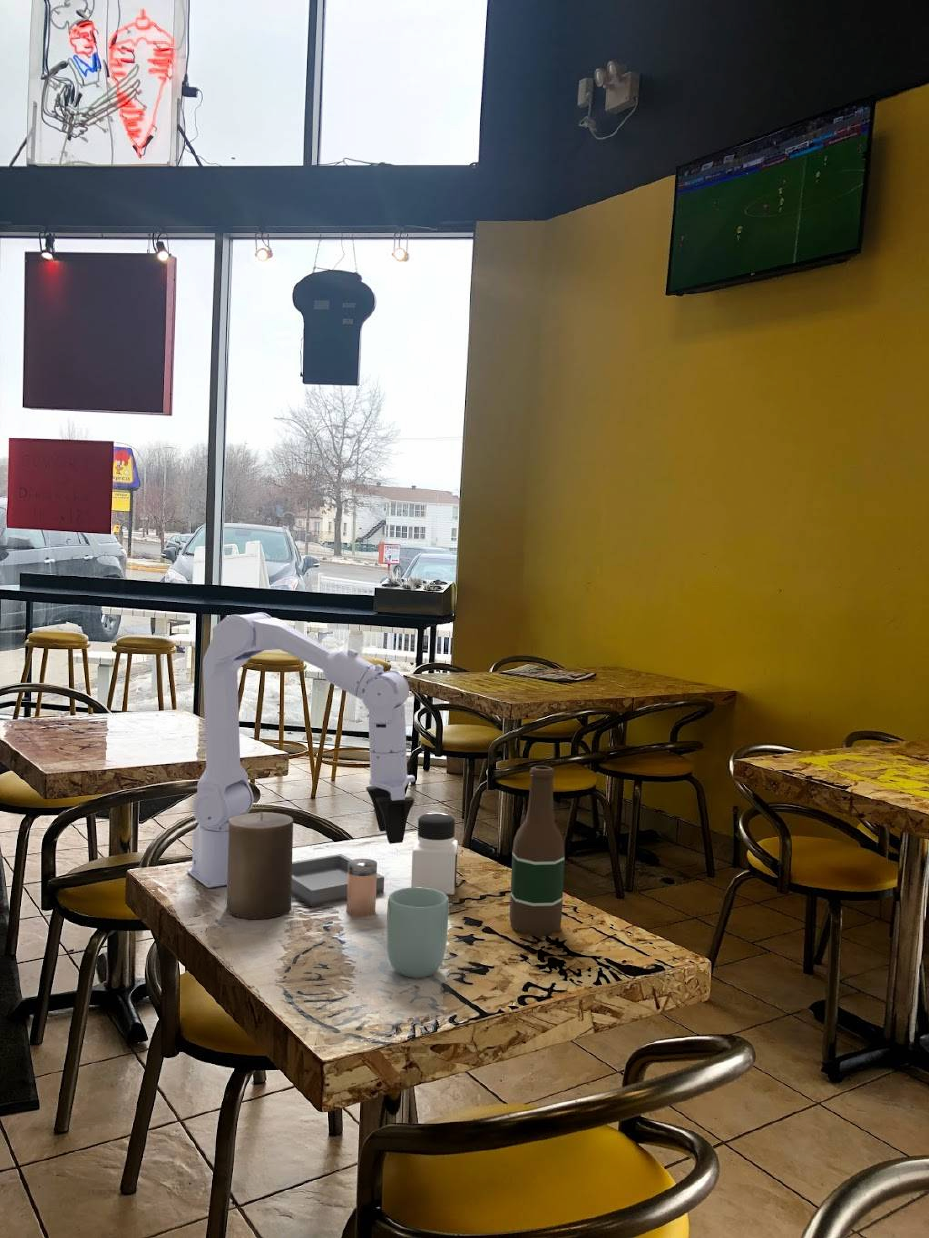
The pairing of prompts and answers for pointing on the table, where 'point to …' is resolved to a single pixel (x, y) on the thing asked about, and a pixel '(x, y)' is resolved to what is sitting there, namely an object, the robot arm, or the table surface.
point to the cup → (417, 930)
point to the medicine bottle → (435, 853)
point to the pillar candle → (259, 865)
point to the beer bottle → (538, 862)
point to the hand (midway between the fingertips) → (390, 836)
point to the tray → (324, 880)
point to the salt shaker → (361, 887)
